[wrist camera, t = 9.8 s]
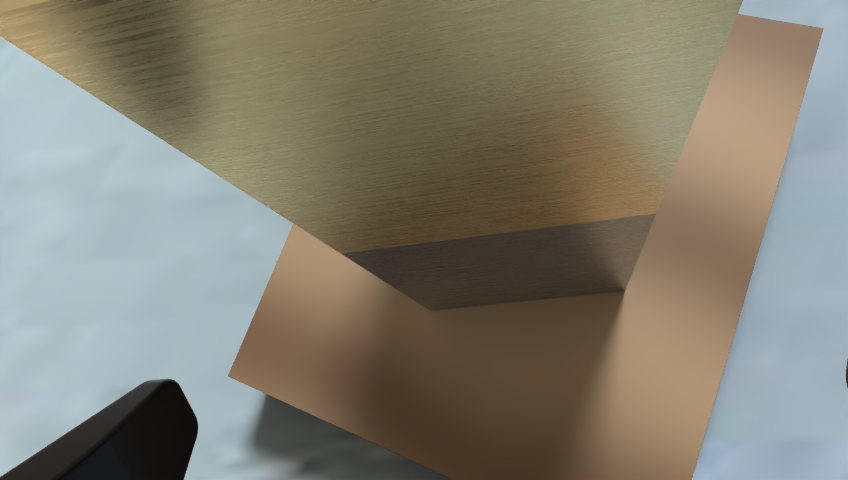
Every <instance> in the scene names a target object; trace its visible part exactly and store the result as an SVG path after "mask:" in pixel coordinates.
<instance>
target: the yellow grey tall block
mask: <svg viewBox="0 0 848 480" xmlns="http://www.w3.org/2000/svg"><path fill="white" fill-rule="evenodd" d="M742 2H743V0H0V36H1V37H3V38H4V39H6V40H7V41H9V42H10V43H12V44H13V45H15V46H17V47H18V48H20V49H21V50H23V51H24V52H26V53H28V54H29V55H31V56H32V57H34V58H35V59H37V60H39V61H40V62H42V63H43V64H45V65H46V66H48V67H49V68H51V69H53V70H54V71H56V72H57V73H59V74H60V75H62V76H64V77H65V78H67V79H68V80H70V81H71V82H73V83H75V84H76V85H78V86H79V87H81V88H82V89H84V90H85V91H87V92H89V93H90V94H92V95H93V96H95V97H96V98H98V99H100V100H101V101H103V102H104V103H106V104H107V105H109V106H111V107H112V108H114V109H115V110H117V111H118V112H120V113H121V114H123V115H125V116H126V117H128V118H129V119H131V120H132V121H134V122H136V123H137V124H139V125H140V126H142V127H143V128H145V129H146V130H148V131H150V132H151V133H153V134H154V135H156V136H157V137H159V138H161V139H162V140H164V141H165V142H167V143H168V144H170V145H172V146H173V147H175V148H176V149H178V150H179V151H181V152H182V153H184V154H186V155H187V156H189V157H190V158H192V159H193V160H195V161H197V162H198V163H200V164H201V165H203V166H204V167H206V168H208V169H209V170H211V171H212V172H214V173H215V174H217V175H218V176H220V177H222V178H223V179H225V180H226V181H228V182H229V183H231V184H233V185H234V186H236V187H237V188H239V189H240V190H242V191H244V192H245V193H247V194H248V195H250V196H251V197H253V198H254V199H256V200H258V201H259V202H261V203H262V204H264V205H265V206H267V207H269V208H270V209H272V210H273V211H275V212H276V213H278V214H280V215H281V216H283V217H284V218H286V219H287V220H289V221H290V222H292V223H294V224H295V225H297V226H298V227H300V228H301V229H303V230H305V231H306V232H308V233H309V234H311V235H312V236H314V237H316V238H317V239H319V240H320V241H322V242H323V243H325V244H326V245H328V246H330V247H331V248H333V249H334V250H336V251H337V252H339V253H341V254H342V255H344V256H345V257H347V258H348V259H350V260H352V261H353V262H355V263H356V264H358V265H359V266H361V267H362V268H364V269H366V270H367V271H369V272H370V273H372V274H373V275H375V276H377V277H378V278H380V279H381V280H383V281H384V282H386V283H388V284H389V285H391V286H392V287H394V288H395V289H397V290H398V291H400V292H402V293H403V294H405V295H406V296H408V297H409V298H411V299H413V300H414V301H416V302H417V303H419V304H420V305H422V306H424V307H425V308H427V309H428V310H430V311H436V310H446V309H455V308H465V307H475V306H485V305H495V304H504V303H514V302H524V301H534V300H543V299H553V298H563V297H573V296H583V295H592V294H602V293H612V292H622V291H625V290H626V288H627V285H628V283H629V280H630V278H631V275H632V273H633V270H634V268H635V265H636V263H637V261H638V258H639V256H640V253H641V251H642V248H643V246H644V243H645V241H646V238H647V236H648V233H649V231H650V228H651V226H652V224H653V221H654V219H655V216H656V214H657V211H658V209H659V206H660V204H661V201H662V199H663V196H664V194H665V191H666V189H667V187H668V184H669V182H670V179H671V177H672V174H673V172H674V169H675V167H676V164H677V162H678V159H679V157H680V154H681V152H682V150H683V147H684V145H685V142H686V140H687V137H688V135H689V132H690V130H691V127H692V125H693V122H694V120H695V117H696V115H697V113H698V110H699V108H700V105H701V103H702V100H703V98H704V95H705V93H706V90H707V88H708V85H709V83H710V80H711V78H712V76H713V73H714V71H715V68H716V66H717V63H718V61H719V58H720V56H721V53H722V51H723V48H724V46H725V43H726V41H727V39H728V36H729V34H730V31H731V29H732V26H733V24H734V21H735V19H736V16H737V14H738V11H739V9H740V6H741V4H742Z"/></svg>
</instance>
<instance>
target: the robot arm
mask: <svg viewBox="0 0 848 480" xmlns="http://www.w3.org/2000/svg"><path fill="white" fill-rule="evenodd" d="M846 382H847V387H848V361H847V368H846ZM197 433H198V422H197V418H196V416H195V414H194V412H193V410H192V408H191V406H190V404H189V402H188V401H187V399H186V397H185V395H184V393H183V391H182V389H181V387H180V386H179V384H178V383H177V382H176V381H174V380H172V379H160V380H150V381H146V382H144V383H142V384H141V385H139V386H138V387H136V388H135V389H133V390H131V391H130V392H128V393H127V394H125V395H124V396H122V397H121V398H119V399H118V400H116V401H115V402H113V403H112V404H110V405H109V406H107V407H106V408H104V409H103V410H101V411H100V412H98V413H97V414H95V415H94V416H92V417H91V418H89V419H87V420H86V421H84V422H83V423H81V424H80V425H78V426H77V427H75V428H74V429H72V430H71V431H69V432H68V433H66V434H65V435H63V436H62V437H60V438H59V439H57V440H56V441H54V442H53V443H51V444H50V445H48V446H47V447H45V448H44V449H42V450H40V451H39V452H37V453H36V454H34V455H33V456H31V457H30V458H28V459H27V460H25V461H24V462H22V463H21V464H19V465H18V466H16V467H15V468H13V469H12V470H10V471H9V472H7V473H6V474H4V475H3V476H1V477H0V480H184V477H185V474H186V470H187V467H188V464H189V461H190V457H191V454H192V451H193V447H194V444H195V441H196V438H197Z"/></svg>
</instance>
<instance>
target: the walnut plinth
mask: <svg viewBox="0 0 848 480" xmlns="http://www.w3.org/2000/svg"><path fill="white" fill-rule="evenodd" d="M822 32H823V28H818V27H812V26H806V25H800V24H794V23H788V22H782V21H776V20H770V19H764V18H758V17H752V16H746V15H740V14H737V16H736V19H735V21H734V24H733V26H732V29H731V31H730V34H729V36H728V39H727V41H726V43H725V46H724V48H723V51H722V53H721V56H720V58H719V61H718V63H717V66H716V68H715V71H714V73H713V76H712V78H711V80H710V83H709V85H708V88H707V90H706V93H705V95H704V98H703V100H702V103H701V105H700V108H699V110H698V113H697V115H696V117H695V120H694V122H693V125H692V127H691V130H690V132H689V135H688V137H687V140H686V142H685V145H684V147H683V150H682V152H681V154H680V157H679V159H678V162H677V164H676V167H675V169H674V172H673V174H672V177H671V179H670V182H669V184H668V187H667V189H666V191H665V194H664V196H663V199H662V201H661V204H660V206H659V209H658V211H657V214H656V216H655V219H654V221H653V224H652V226H651V228H650V231H649V233H648V236H647V238H646V241H645V243H644V246H643V248H642V251H641V253H640V256H639V258H638V261H637V263H636V265H635V268H634V270H633V273H632V275H631V278H630V280H629V283H628V285H627V288H626V290H625V291H622V292H612V293H602V294H592V295H583V296H573V297H563V298H553V299H543V300H534V301H524V302H514V303H504V304H495V305H485V306H475V307H465V308H455V309H446V310H436V311H430V310H428V309H427V308H425V307H424V306H422V305H420V304H419V303H417V302H416V301H414V300H413V299H411V298H409V297H408V296H406V295H405V294H403V293H402V292H400V291H398V290H397V289H395V288H394V287H392V286H391V285H389V284H388V283H386V282H384V281H383V280H381V279H380V278H378V277H377V276H375V275H373V274H372V273H370V272H369V271H367V270H366V269H364V268H362V267H361V266H359V265H358V264H356V263H355V262H353V261H352V260H350V259H348V258H347V257H345V256H344V255H342V254H341V253H339V252H337V251H336V250H334V249H333V248H331V247H330V246H328V245H326V244H325V243H323V242H322V241H320V240H319V239H317V238H316V237H314V236H312V235H311V234H309V233H308V232H306V231H305V230H303V229H301V228H300V227H298V226H297V225H295V224H293V226H292V229H291V231H290V233H289V235H288V238H287V240H286V242H285V245H284V247H283V249H282V252H281V254H280V256H279V259H278V261H277V263H276V266H275V268H274V270H273V273H272V275H271V277H270V280H269V282H268V284H267V287H266V289H265V291H264V294H263V296H262V298H261V301H260V303H259V305H258V308H257V310H256V312H255V315H254V317H253V319H252V322H251V324H250V326H249V328H248V331H247V333H246V335H245V338H244V340H243V342H242V345H241V347H240V349H239V352H238V354H237V356H236V359H235V361H234V363H233V366H232V368H231V370H230V373H229V375H228V376H229V377H231V378H233V379H235V380H237V381H239V382H242V383H244V384H246V385H248V386H250V387H253V388H255V389H257V390H259V391H261V392H263V393H266V394H268V395H270V396H272V397H274V398H276V399H279V400H281V401H283V402H285V403H287V404H289V405H292V406H294V407H296V408H298V409H300V410H303V411H305V412H307V413H309V414H311V415H313V416H316V417H318V418H320V419H322V420H324V421H326V422H329V423H331V424H333V425H335V426H337V427H339V428H342V429H344V430H346V431H348V432H350V433H353V434H355V435H357V436H359V437H361V438H363V439H366V440H368V441H370V442H372V443H374V444H376V445H379V446H381V447H383V448H385V449H387V450H389V451H392V452H394V453H396V454H398V455H400V456H403V457H405V458H407V459H409V460H411V461H413V462H416V463H418V464H420V465H422V466H424V467H426V468H429V469H431V470H433V471H435V472H437V473H439V474H442V475H444V476H446V477H448V478H450V479H453V480H692V477H693V473H694V470H695V467H696V463H697V460H698V456H699V453H700V449H701V446H702V443H703V439H704V436H705V432H706V429H707V425H708V422H709V419H710V415H711V412H712V408H713V405H714V401H715V398H716V395H717V391H718V388H719V384H720V381H721V378H722V374H723V371H724V367H725V364H726V360H727V357H728V354H729V350H730V347H731V343H732V340H733V336H734V333H735V330H736V326H737V323H738V319H739V316H740V313H741V309H742V306H743V302H744V299H745V295H746V292H747V289H748V285H749V282H750V278H751V275H752V271H753V268H754V265H755V261H756V258H757V254H758V251H759V248H760V244H761V241H762V237H763V234H764V230H765V227H766V224H767V220H768V217H769V213H770V210H771V206H772V203H773V200H774V196H775V193H776V189H777V186H778V183H779V179H780V176H781V172H782V169H783V165H784V162H785V159H786V155H787V152H788V148H789V145H790V141H791V138H792V135H793V131H794V128H795V124H796V121H797V117H798V114H799V111H800V107H801V104H802V100H803V97H804V94H805V90H806V87H807V83H808V80H809V76H810V73H811V70H812V66H813V63H814V59H815V56H816V52H817V49H818V46H819V42H820V39H821V35H822Z"/></svg>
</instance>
